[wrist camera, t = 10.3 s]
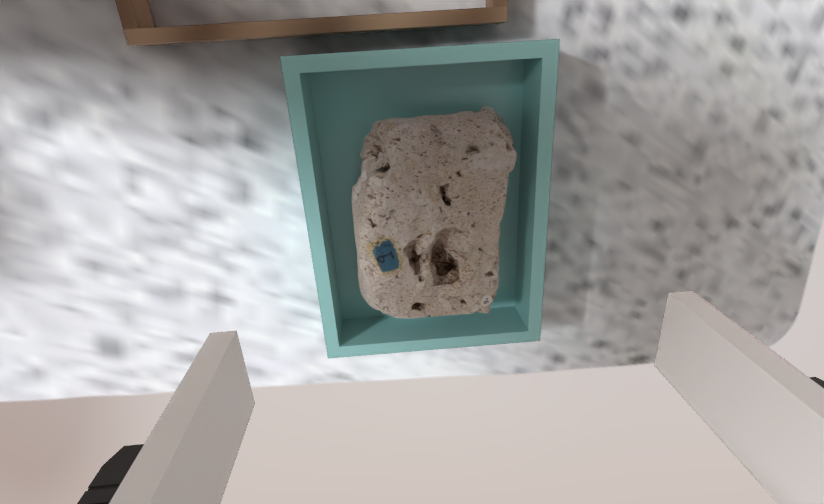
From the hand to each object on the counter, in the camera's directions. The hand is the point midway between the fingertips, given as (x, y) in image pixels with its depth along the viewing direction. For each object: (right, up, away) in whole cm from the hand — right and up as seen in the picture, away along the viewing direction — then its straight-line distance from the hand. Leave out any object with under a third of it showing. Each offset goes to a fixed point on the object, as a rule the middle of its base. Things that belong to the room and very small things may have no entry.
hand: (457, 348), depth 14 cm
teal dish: (-1, +6, +15) cm, 16 cm away
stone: (0, +6, +15) cm, 16 cm away
